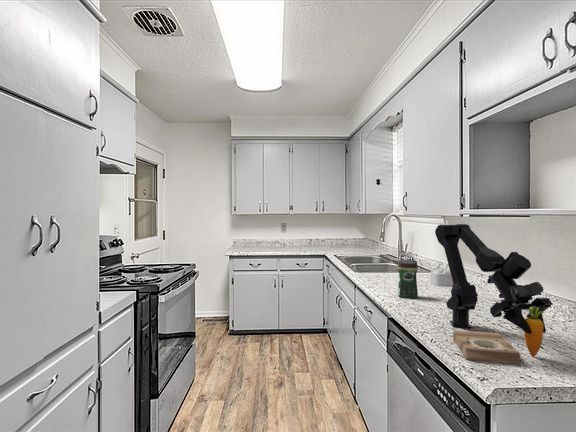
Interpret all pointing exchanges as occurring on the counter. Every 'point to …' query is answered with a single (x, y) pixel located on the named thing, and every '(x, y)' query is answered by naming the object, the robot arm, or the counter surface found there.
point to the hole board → (485, 347)
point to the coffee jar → (407, 279)
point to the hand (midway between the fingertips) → (537, 332)
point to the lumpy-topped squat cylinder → (441, 278)
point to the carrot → (534, 332)
